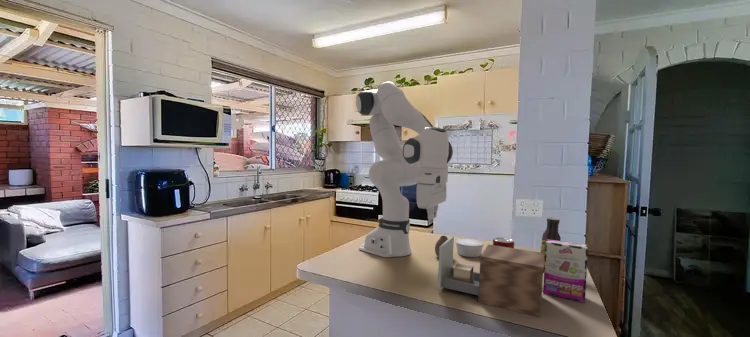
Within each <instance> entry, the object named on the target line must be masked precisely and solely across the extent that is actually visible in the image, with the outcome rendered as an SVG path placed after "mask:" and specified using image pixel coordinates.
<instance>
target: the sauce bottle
mask: <svg viewBox="0 0 750 337" xmlns="http://www.w3.org/2000/svg"><path fill="white" fill-rule="evenodd" d="M560 220H561V219H559V218H557V217H547V218H546V228H545V231H543V234H542V236H541V242H540V251H539V252H540V253H544V264H543V272H544V266H545V245H546V241H547V239H550V240H557V241H562V240H561V236H560V233H559V224H560Z"/></svg>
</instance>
